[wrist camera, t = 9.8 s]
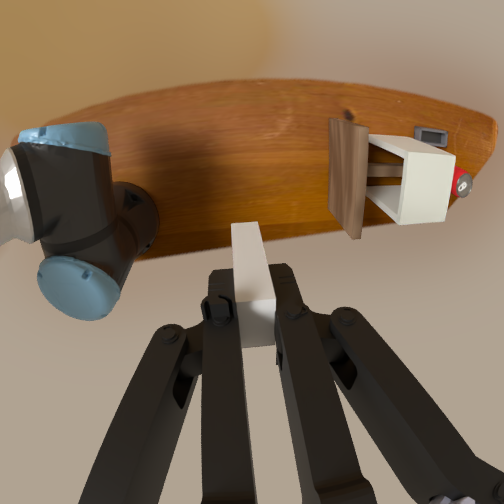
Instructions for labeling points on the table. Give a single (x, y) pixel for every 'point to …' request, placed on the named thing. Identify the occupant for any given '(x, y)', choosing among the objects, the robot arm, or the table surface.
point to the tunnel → (415, 181)
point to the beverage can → (461, 183)
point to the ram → (352, 173)
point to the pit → (431, 136)
